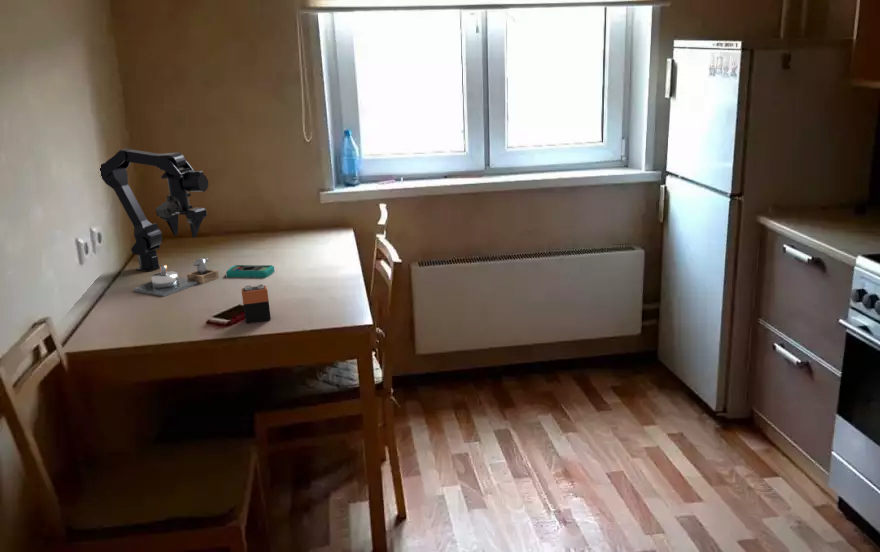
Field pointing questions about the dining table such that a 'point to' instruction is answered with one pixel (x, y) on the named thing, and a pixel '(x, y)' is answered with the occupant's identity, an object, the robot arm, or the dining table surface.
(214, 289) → the dining table surface
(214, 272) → the key socket
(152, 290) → the chuck base
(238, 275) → the digital multimeter
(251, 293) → the battery
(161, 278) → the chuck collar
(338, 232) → the dining table surface
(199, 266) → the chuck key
